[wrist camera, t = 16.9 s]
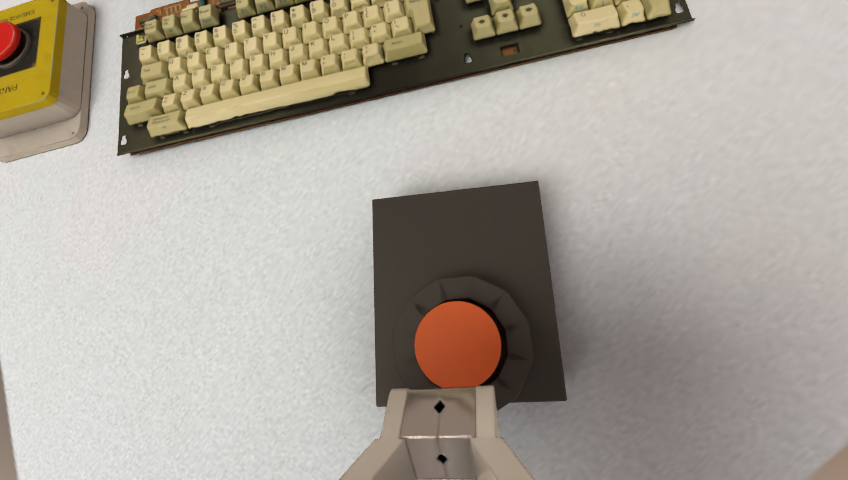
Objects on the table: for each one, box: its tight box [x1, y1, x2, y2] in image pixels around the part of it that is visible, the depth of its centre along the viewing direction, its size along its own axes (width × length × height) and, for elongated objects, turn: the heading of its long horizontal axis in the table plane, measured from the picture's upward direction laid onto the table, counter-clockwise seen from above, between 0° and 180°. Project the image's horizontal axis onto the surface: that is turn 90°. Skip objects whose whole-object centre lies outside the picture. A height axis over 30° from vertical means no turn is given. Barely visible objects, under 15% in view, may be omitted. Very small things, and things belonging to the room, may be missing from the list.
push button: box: [414, 301, 501, 387], centre depth 20 cm, size 4×4×2 cm
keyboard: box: [117, 0, 695, 156], centre depth 33 cm, size 45×15×2 cm, turn 98°
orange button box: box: [372, 181, 567, 411], centre depth 24 cm, size 12×10×6 cm
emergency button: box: [0, 0, 95, 162], centre depth 37 cm, size 9×4×15 cm
